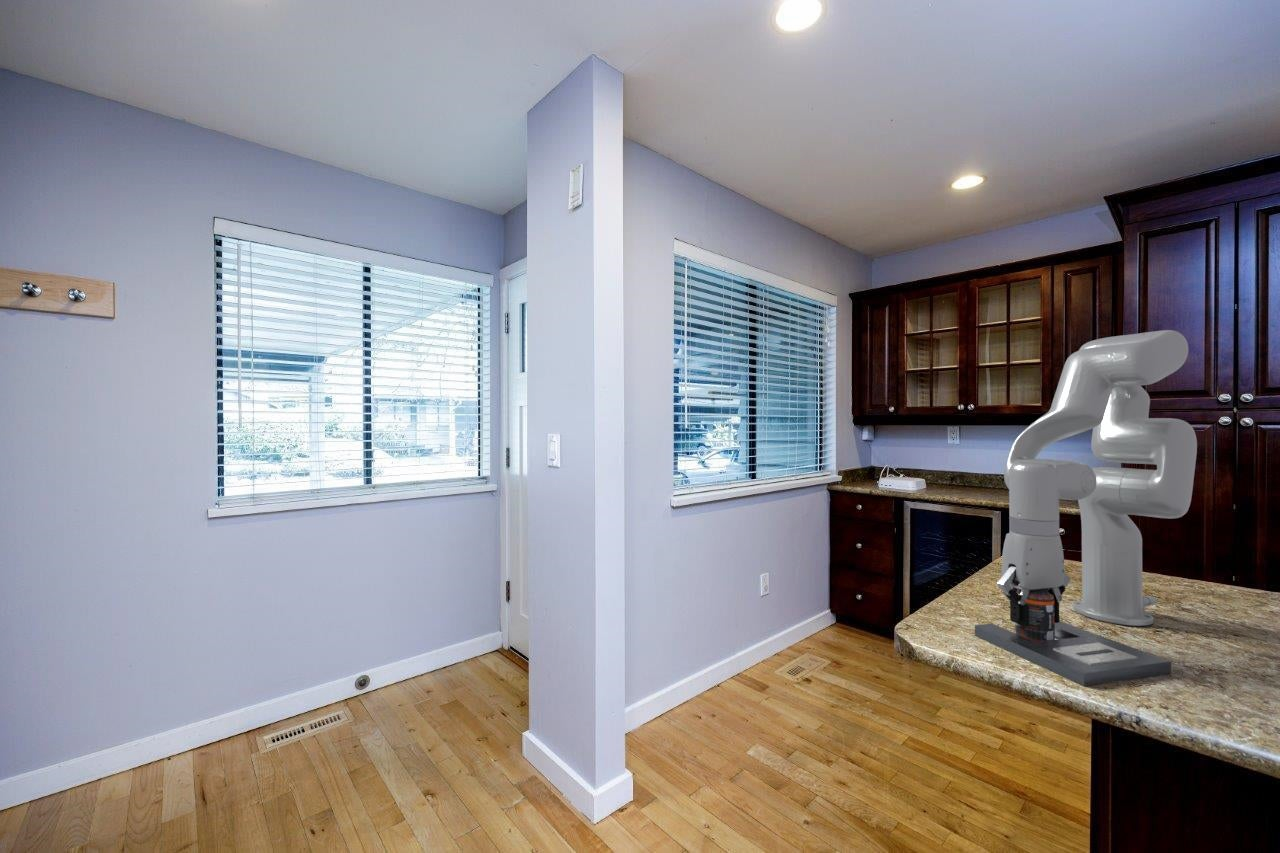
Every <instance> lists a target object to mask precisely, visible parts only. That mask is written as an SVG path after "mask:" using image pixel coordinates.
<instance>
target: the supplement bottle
mask: <svg viewBox="0 0 1280 853" xmlns="http://www.w3.org/2000/svg"><path fill="white" fill-rule="evenodd" d="M1047 589H1048V588H1043V589H1037V590H1030V591H1029V594H1028V597H1027V600H1026V603H1025V604H1026V605H1028V611H1029V625H1028V626H1022V625H1020V624H1017V623H1015V622H1014V624H1015V628H1014V629H1015V631H1014V632H1016V634H1018V635H1020V636H1023V637H1025V638H1028V639H1030V640H1032V641H1035V642H1042V641H1051V640H1055V617H1054V615H1055V612H1054V597H1053V595H1052V594H1050V593H1049V592H1048V590H1047ZM1020 593H1021V590H1019V589H1018V590H1017V594H1018V595H1019V596H1020Z"/></svg>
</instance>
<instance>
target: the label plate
mask: <svg viewBox="0 0 1280 853" xmlns="http://www.w3.org/2000/svg"><path fill="white" fill-rule="evenodd" d="M974 636H975V637H977V638H980V639H981V640H983V641H985V642H988V643H990V644H992V645H994V646H996V647H998V648H1001V649H1003V650H1005V651H1008V652H1009V653H1012V654H1014V655H1016V656H1018V657H1020V658H1023V659H1024V660H1027V661H1029V662H1031V663H1033V664H1035V665H1038V666H1039V667H1042V668H1044V669H1045V670H1048V671H1049V672H1053V673H1054V674H1057V675H1059V676H1061V677H1062V678H1066V679H1067V680H1069V681H1071V682H1074V683H1077V684H1078V685H1080V686H1082V687H1088V686H1096V685H1101V684H1109V683H1115V682H1116V683H1117V682H1122V681H1123V682H1124V681H1130V680H1135V679H1136V680H1137V679H1142V678H1150V677H1157V676H1164V675H1171V674H1172V661H1171V660H1168V659H1166V658H1163V657H1160V656H1157V655H1154V654H1151V653H1148V652H1147V651H1143V650H1141V649H1138V648H1136V647H1135V648H1134V647H1132V646H1130V645H1127V644H1123V643H1121V642H1119V641H1116V640H1113V639H1111V638H1107V637H1105V636H1103V635H1099V634H1096V633H1093V632H1092V631H1088V630H1085V629H1082V628H1080V627H1078V626H1075V625H1072V624H1068V623H1066V622H1064V621H1061V620H1059V623H1055V640H1051V641H1042V642H1035V641H1032V640H1030V639H1028V638H1025V637H1023V636H1020V635H1018V634H1016V631H1010V630H1008V629H1006V628H1003V627H1001V626H998V625H996V624H994V623H985V624H984V623H983V624H975V625H974Z"/></svg>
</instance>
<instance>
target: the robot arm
mask: <svg viewBox="0 0 1280 853" xmlns="http://www.w3.org/2000/svg"><path fill="white" fill-rule="evenodd" d="M1188 355H1189V344H1188V341H1187V339H1186V337H1185V336H1184V335H1183V334H1182V333H1180V332H1179V331H1176V330H1172V329H1171V330H1170V329H1165V330H1162V329H1161V330H1157V331H1155V330H1154V331H1149V332H1147V331H1146V332H1141V333H1132V334H1125V335H1116V336H1109V337H1108V336H1107V337H1102V338H1097V339H1094V340H1090V341H1088V342H1086V343H1084V344H1083V345H1081V347H1080V348H1079V349H1078V350H1077V351H1075V352H1073V353H1071V354H1070V355H1069V356H1068V357H1067V359H1066V361H1065V363H1064V365H1063V368H1062V372H1061V374H1060V377H1059V381H1058V383H1057V387H1056V390H1055V393H1054V397H1053V399H1052V403H1051V406H1050V409H1049V410H1048V411H1047V412H1046V413H1045V414H1043V415H1042V416H1040V417H1039V418H1037V419H1036V420H1035V421H1034V422H1032V423H1030V425H1029V426H1027V427H1026V428H1025V429H1024V430H1023V431H1022V432H1020V434H1019V435H1018V436H1017V437H1016V438H1015V439H1014V441H1013V443H1012V445H1011V447H1010V450H1009V454H1008V457H1007V459H1006V462H1005V467H1004V470H1003V471H1004V472H1003V479H1004V480H1003V481H1004V484H1005V485H1006V487H1007V489H1008V490H1009V491H1008V497H1009V498H1008V500H1009V501H1008V502H1009V503H1008V505H1009V507H1008V509H1009V510H1008V511H1009V512H1008V513H1009V517H1008V519H1009V520H1008V521H1009V524H1008V525H1009V532H1008V533H1006V534H1005V539H1004V542H1003V548H1002V556H1001V558H1002V559H1001V571H1000V572H1001V576H1000V579H998V581H997V584H996V585H997V587H998V588H999V589H1000V590H1001V591H1002V593H1003V595H1005V596H1006V599H1007V601H1009V612H1010V613H1009V617H1010V618H1009V619H1010V621H1011V622H1013V623H1014V624H1015V623H1017V624H1020V625H1022V626H1028V625H1029V611H1028V605H1026V604H1025V603H1026V600H1027V597H1028V594H1029V591H1030V590H1037V589H1043V588H1048V589H1047V590H1048V592H1049V593H1050V594H1052V595H1053V597H1054V612H1055V615H1054V617H1055V623H1059V621H1060V602H1061V601H1062V600H1063V594H1064V593H1065V591H1066V588H1067V586H1068V585H1069V584H1070V583H1071V578H1070V576H1068V574H1067V573H1066V571H1065V569H1066V568H1065V558H1064V557H1065V556H1064V550H1063V544H1062V539H1061V536H1060V500H1067V501H1068V500H1069V501H1078V507H1079V512H1080V513H1079V514H1080V520H1081V521H1080V522H1081V523H1080V524H1081V582H1082V583H1081V587H1082V588H1081V589H1082V590H1081V593H1082V594H1081V598H1082V599H1081V600H1076V601H1074V602H1073V604H1072V609H1073V610H1074V611H1075V612H1076V613H1079V614H1080V615H1083V616H1084V617H1088V618H1090V619H1094V620H1097V621H1102V622H1105V623H1111V624H1116V625H1117V624H1118V625H1124V626H1134V627H1135V626H1136V627H1142V626H1146V627H1147V626H1151V625H1152V624H1154V616H1153V615H1152V614H1151V613H1149V612H1148V611H1145V610H1146V609H1145V608H1146V607H1149V606H1155V605H1156V604H1157V603H1158V600H1157V598H1156V597H1154V596H1152V595H1144V594H1143V593H1144V592H1143V537H1142V533H1141V531H1140V529H1139V528H1138V526H1137V525H1136V524H1135V523H1134V521H1133V520H1132V519H1131V517H1130V516H1129V515H1131V516H1133V515H1134V516H1142V517H1151V518H1159V519H1179V518H1182V517H1183V516H1184V515H1186V514H1187V513H1188V511H1189V508H1190V506H1191V502H1192V496H1193V489H1194V478H1195V470H1196V461H1197V453H1198V450H1197V449H1198V439H1197V436H1196V432H1195V429H1194V428H1193V426H1191V424H1190V423H1189V422H1187V421H1186V420H1183V419H1179V418H1170V417H1167V418H1165V417H1160V418H1159V417H1155V418H1153V417H1150V418H1149V416H1150V415H1149V413H1150V405H1151V398H1150V395H1149V393H1148V392H1147V391H1146V390H1145V389H1144V388H1143V387H1142V386H1148V385H1152V384H1155V383H1158V382H1159V381H1161V380H1163V379H1165V378H1167V377H1168V376H1171V374H1174V373H1175V372H1177V371H1178V370H1179V369H1180V368H1181V367H1183V365H1184V364H1185V362H1186V361H1187V358H1188ZM1089 430H1092V434H1091V444H1090V445H1091V446H1090V447H1091V452H1092V454H1093V456H1094V457H1095V458H1096V459H1098V460H1101V461H1104V462H1111V463H1122V464H1137V465H1138V464H1140V465H1141V464H1143V465H1155V466H1156V469H1146V468H1145V469H1143V468H1142V469H1141V468H1132V467H1131V468H1129V467H1115V466H1114V467H1112V466H1110V467H1109V466H1100V467H1099V466H1097V467H1090V466H1089V465H1087V464H1085V463H1084V462H1080V461H1076V460H1075V461H1074V460H1060V459H1059V460H1058V459H1045V458H1037V457H1038V455H1039V454H1040V453H1041V452H1042V451H1044V449H1045V448H1046V447H1049V446H1050V445H1051V444H1053V443H1056V442H1058V441H1060V440H1064V439H1067V438H1069V437H1071V436H1072V437H1073V436H1075V435H1078V434H1081V433H1084V432H1088V431H1089ZM1018 589H1019V590H1021V593H1020V596H1019V595H1018V594H1017V590H1018Z"/></svg>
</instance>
